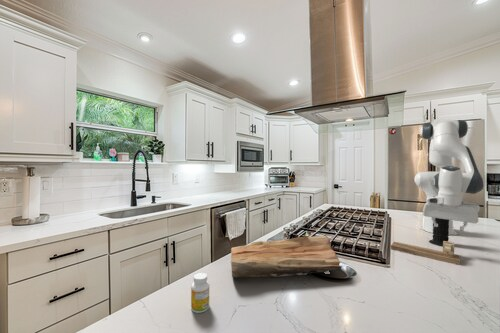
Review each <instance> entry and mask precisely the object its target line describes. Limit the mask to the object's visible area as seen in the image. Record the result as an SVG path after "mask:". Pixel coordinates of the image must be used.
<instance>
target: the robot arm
mask: <svg viewBox="0 0 500 333" xmlns="http://www.w3.org/2000/svg"><path fill="white" fill-rule="evenodd" d="M468 132H469V125H468V122H467V121H466V120H461V119H457V120H455V119H454V120H449V119H448V120H441V121H440V120H439V121H438V120H437V121H431V122H430V121H429V122H425V123H423V124H422V126H420V132H419V133H420V136H421V138H422V139H424V140H430V144H429V150H428V152H429V153H428V162H429V163H430V164H431V165H433V166H435V167H437V168H439V171H420V172H417V173H416V174H415V175H414V184H416V186H417V187H418V188H420V189H421V190H422V191H423V192H424V193H425V196H426V200H425V201H426V202H425V204H424V205H423V210H422V215H423V218H422V219H423V220H422V226H419V230H422V231H425V232H427V233H431V234H433V223H434V227H438V223H436V221H435V218H440V219H447V220H449V224H448V225H449V230H448V231H449V234H448V235H449V236H451V235H452V236H457V235H458V232H456V231H455V229H454V221H455V222H463V225H462V226H459V231H460V232H465V228H466V227H467V226H468V224H469V223H470V224H478V223H479V215H478V213H479V212H480V211H481V206H480V205H479V204H478V203H476V202H468V201H463V193H466V194H471V195H475V194H478V193H479V192H481V191H483V190H484V187H485V186H484V185H485V184H484V179H483V177H482V175H481V173H480V172H479V169H478V166H477V163H476V160H475V158H474V155H473V153H472V151H471V149H470V148H469V146H468V145H464V144H463V143H462V142H461V139H462V138H464V137H465V136H467V134H468ZM453 158H455V159H456V160H459V161H461V162H462V165H463V168H464V170H465V172H462V171H463V170H462V168H461V167H458V166H454V164H453Z"/></svg>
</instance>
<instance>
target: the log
mask: <svg viewBox="0 0 500 333" xmlns="http://www.w3.org/2000/svg"><path fill="white" fill-rule="evenodd" d="M230 253H231V256H230V264H231V265H230V266H231V277H232V278H237V279H242V278H260V277H264V278H265V277H267V278H268V277H273V278H279V277H288V276H292V277H299V276H306V275H309V274H315V273H326V272H330V271H341V270H342V268H343V266H342V265H340V264H341V261H340V259H339V257H338V256H337V253H336V252H335V250H334V249H333V247H332V246H331V244H330V240H329V238H328V235H317V236H308V235H306V236H305V235H303V236H297V237H294V238H289V239H287V238H285V239H275V240H272V241H271V240H270V241H269V240H268V241H267V240H266V241H263V240H260V241H253V242H251V243H250V244H246V245H240V246H233V247H231V251H230Z"/></svg>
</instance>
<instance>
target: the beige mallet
mask: <svg viewBox="0 0 500 333" xmlns="http://www.w3.org/2000/svg"><path fill="white" fill-rule="evenodd" d="M442 252H447V256H448V253H452V254H455V242H452V241H448V242H447V241H443V246H442Z"/></svg>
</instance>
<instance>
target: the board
mask: <svg viewBox="0 0 500 333" xmlns="http://www.w3.org/2000/svg"><path fill="white" fill-rule="evenodd" d="M390 250H393V251H397V252H402V253H406V254H410V255H414V256H419V257H423V258H429V259H432V260H436V261H440V262H445V263H448V264H454V265H458V266H460V261H461V260H460V254H455V253H454V254H452V253H448V256H447V252H443V250H442V251H441V250H437V249H432V248H428V247H422V246H418V245H412V244H410V243H409V244H408V243H404V242H399V241H393V242H392V244H390Z"/></svg>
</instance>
